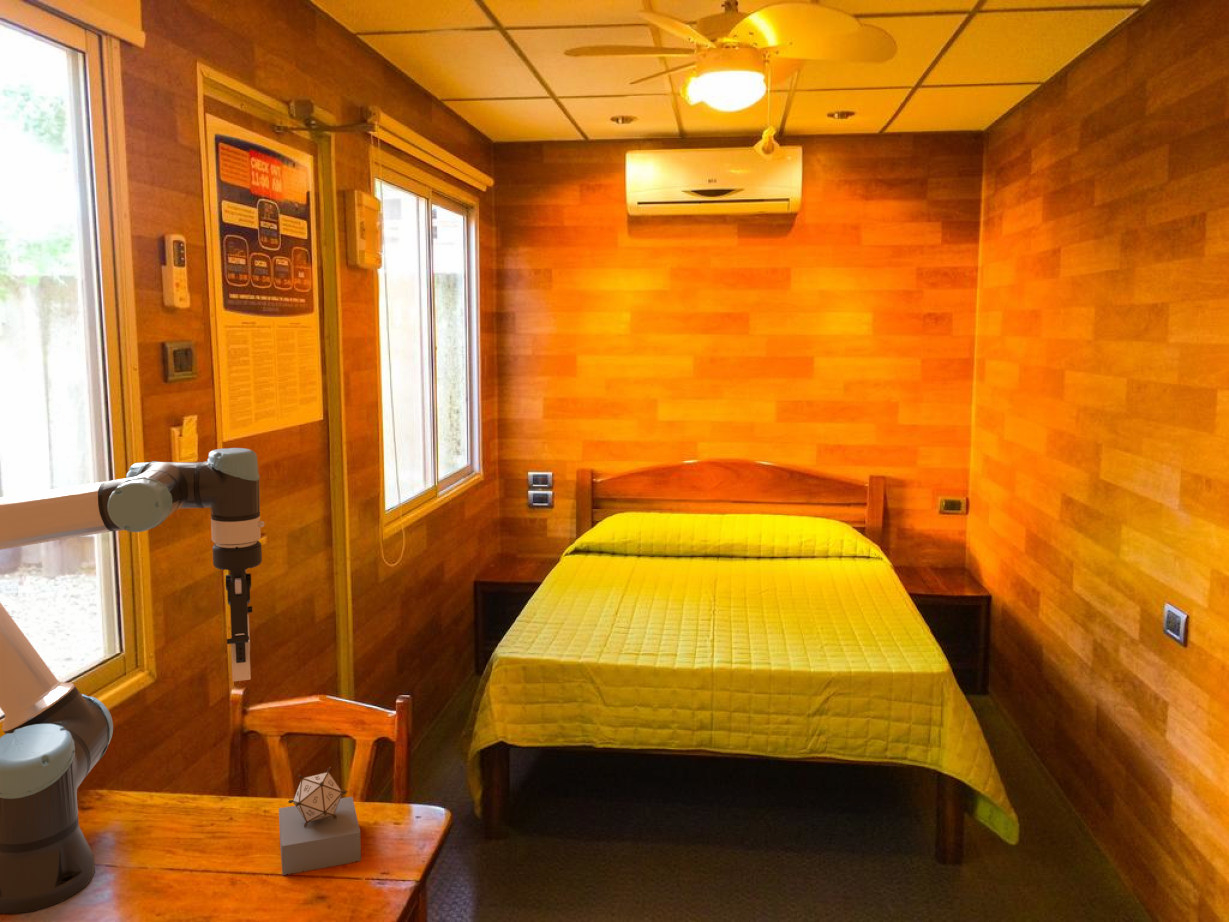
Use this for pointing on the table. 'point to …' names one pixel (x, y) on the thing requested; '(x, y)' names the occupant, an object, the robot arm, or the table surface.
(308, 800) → the game die
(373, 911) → the table surface
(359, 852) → the gray block
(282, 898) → the table surface
